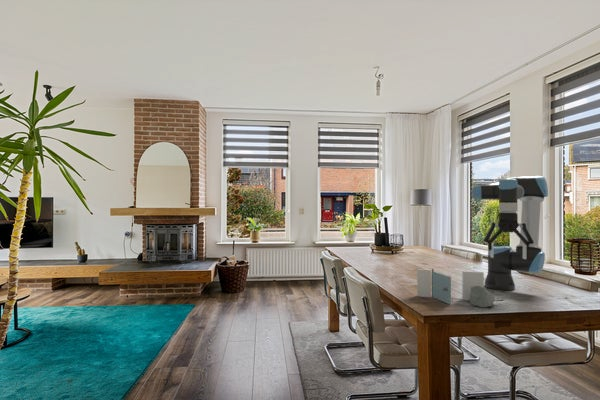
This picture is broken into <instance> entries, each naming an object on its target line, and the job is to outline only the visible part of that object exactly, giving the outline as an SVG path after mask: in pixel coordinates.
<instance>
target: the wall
mask: <svg viewBox="0 0 600 400" xmlns="http://www.w3.org/2000/svg"><path fill="white" fill-rule="evenodd" d="M416 270H417V271H416V276H417V277H416V278H417V279H416V280H417V281H416V282H417V283H416V284H417V285H416V292H417V294H416V296H417V297H422V298H423V297H424V298H434V297H433V271H435V270H434V268H432V269H428V268H417V269H416ZM461 272H462V273H461V274H462V275H461V279H462V282H461V283H462V284H461V288H462V289H461V291H462V292H461V293H462V294H461V297H462V298H460V297H451V300H463V301H464V300H465V301H470V299H469V298H470V293H471V287H473V286H481V287H483V288H485V279H484V277H485V276H484V275H485V273H484V271H469V270H468V271H467V270H462V271H461Z"/></svg>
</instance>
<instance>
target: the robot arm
mask: <svg viewBox="0 0 600 400" xmlns="http://www.w3.org/2000/svg"><path fill="white" fill-rule="evenodd" d="M548 187H549V186H548V184H547V180H546V178H545V176H543V175H542V176H541V175H534V176H533V175H531V176H510V177H507V178H502V179H499V180H497V181H496V182H492V183H487V184H478V185H477V184H476V185H473V186H472V189H471V195H472V198H473V199H474V200H478V201H479V200H480V201H481V200H484V201H486V200H487V201H488V200H497V201H498V211H499V213H498V222H494V221H492V222H491V223H490V227H489V229H488V231H487V233H486V234H485V236H484V238H483V242H484V243H487V274H486V276H485V279H484V288H488V289H492V290H497V291H513V290H516V284H515V281H514V279H513V276H512V271H515V272H521V273H529V274H531V273H532V274H540V273H541V272H542V271H543V268H544V265H545V261H546V253H545V252H544V251H542V248H541V247H540V246H539V239H540V238H539V236H540V221H541V220H540V219H541V205H542V202H544V200H545V198H546V197H548V196H549V188H548ZM518 200H520V201H521V202H522V203H521V218H520V223H519V222H518V221H519V220H518V213H517V212H518V206H519V205H518ZM497 226H498V228H499V229H498V230H497V231H496V232H495V233H494V234H493V232H494V230H495V228H497ZM518 228H519V229H520V231H519V230H518ZM502 233H515V235H516V236H517V237H518V238H519V244H517V245H516V246H515V249H513V248H512V246H508V245H502V246H501V245H499V246H495V245H494V242H495V240H496V239H497V238H498V237H499V236H500V235H501V234H502ZM492 234H493V235H492Z"/></svg>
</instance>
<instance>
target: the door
mask: <svg viewBox="0 0 600 400" xmlns="http://www.w3.org/2000/svg"><path fill="white" fill-rule="evenodd" d="M432 298H434V299H436V300H439V301H441V302H444V303H446V304H447V305H451V304H452V299H451V298H452V277H451V276H450V275H448V274H444V273H441V272H438V271H435V270H434V271H433V297H432Z"/></svg>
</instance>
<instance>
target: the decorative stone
mask: <svg viewBox="0 0 600 400" xmlns="http://www.w3.org/2000/svg"><path fill="white" fill-rule="evenodd" d="M469 299H470V300H469V301H470V303H471V306H472V307H478V308H488V307H492V306H493V305H494V302H495V301H496V298H495V295H494V294H493V293H492V292H490V291H489V290H487V289H486V287H484V288H483V287H481V286H473V287H471V293H470V298H469Z"/></svg>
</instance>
